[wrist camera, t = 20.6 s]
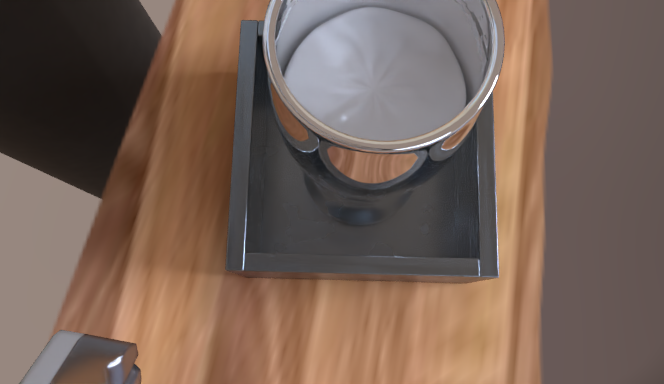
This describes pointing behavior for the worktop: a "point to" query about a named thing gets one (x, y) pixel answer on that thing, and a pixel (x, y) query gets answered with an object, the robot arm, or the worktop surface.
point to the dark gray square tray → (344, 239)
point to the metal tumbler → (378, 93)
